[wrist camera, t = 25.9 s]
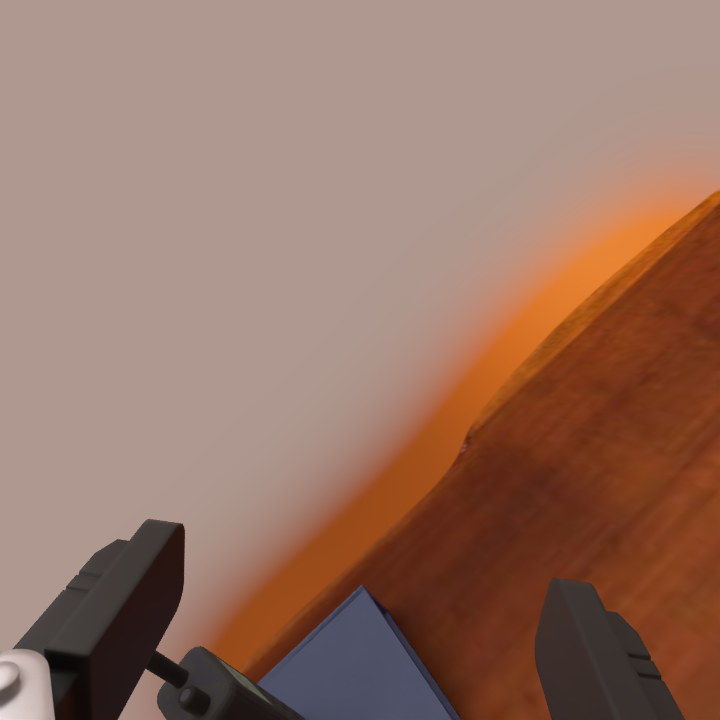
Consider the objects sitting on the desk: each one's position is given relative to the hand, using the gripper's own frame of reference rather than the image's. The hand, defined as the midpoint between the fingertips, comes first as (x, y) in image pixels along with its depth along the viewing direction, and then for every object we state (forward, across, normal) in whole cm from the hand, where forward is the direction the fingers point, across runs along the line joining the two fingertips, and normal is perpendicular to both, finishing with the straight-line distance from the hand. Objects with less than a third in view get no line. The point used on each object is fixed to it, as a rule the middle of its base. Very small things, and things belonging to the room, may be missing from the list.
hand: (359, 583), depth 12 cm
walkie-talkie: (+12, +2, +22) cm, 25 cm away
